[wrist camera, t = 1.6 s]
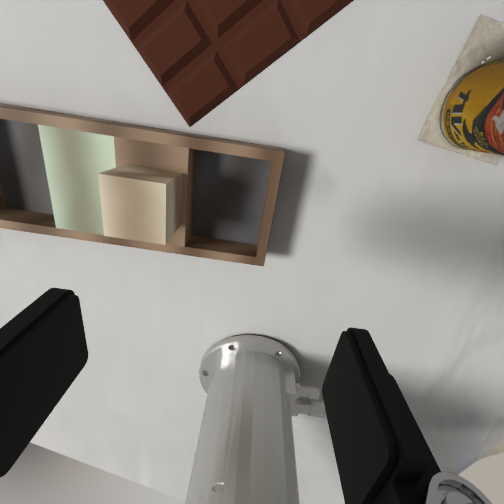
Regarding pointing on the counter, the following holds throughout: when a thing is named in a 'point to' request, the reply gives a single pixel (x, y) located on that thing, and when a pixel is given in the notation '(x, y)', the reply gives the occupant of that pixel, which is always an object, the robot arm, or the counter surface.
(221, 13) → the chocolate bar
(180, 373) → the counter surface
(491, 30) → the condiment
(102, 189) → the block
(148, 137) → the box
